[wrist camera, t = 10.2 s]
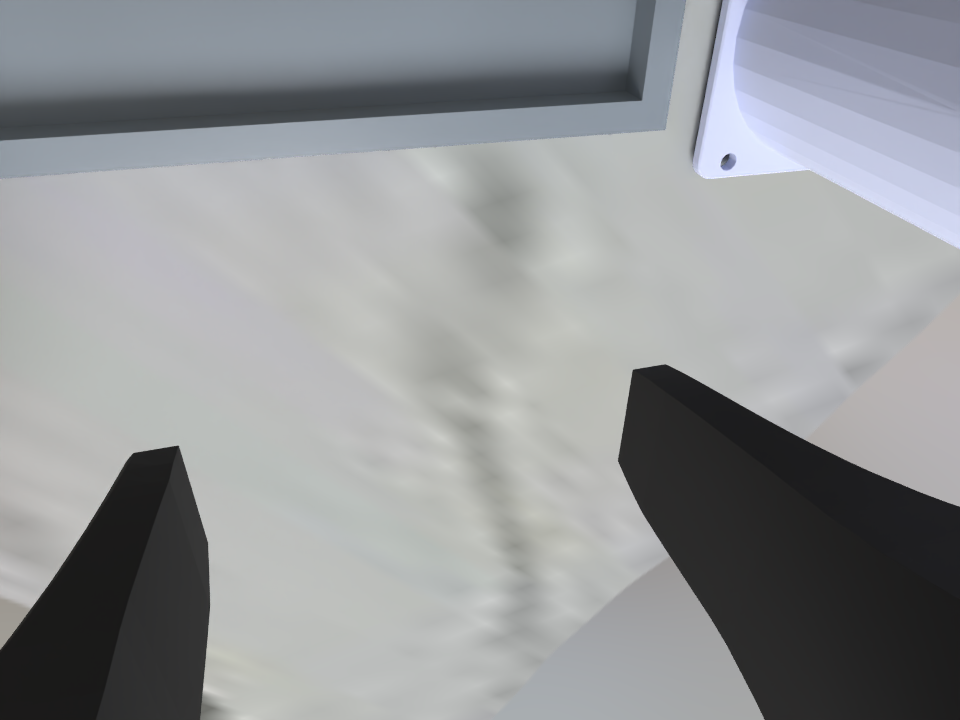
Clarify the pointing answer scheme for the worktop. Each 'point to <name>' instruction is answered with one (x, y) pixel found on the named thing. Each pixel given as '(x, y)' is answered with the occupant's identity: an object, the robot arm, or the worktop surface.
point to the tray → (319, 77)
